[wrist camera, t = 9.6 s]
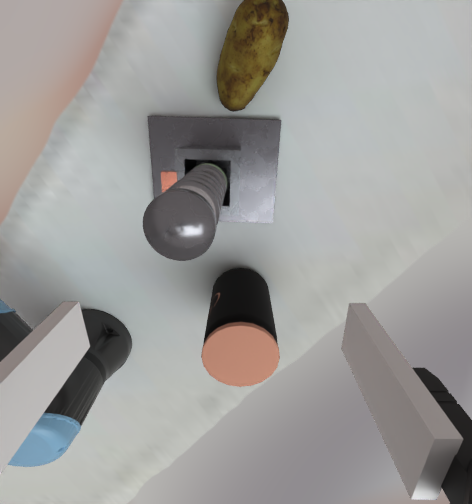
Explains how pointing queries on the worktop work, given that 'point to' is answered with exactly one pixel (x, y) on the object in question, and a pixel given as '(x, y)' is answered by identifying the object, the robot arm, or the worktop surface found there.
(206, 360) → the coffee jar
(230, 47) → the potato
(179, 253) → the column
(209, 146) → the stand
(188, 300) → the worktop surface
